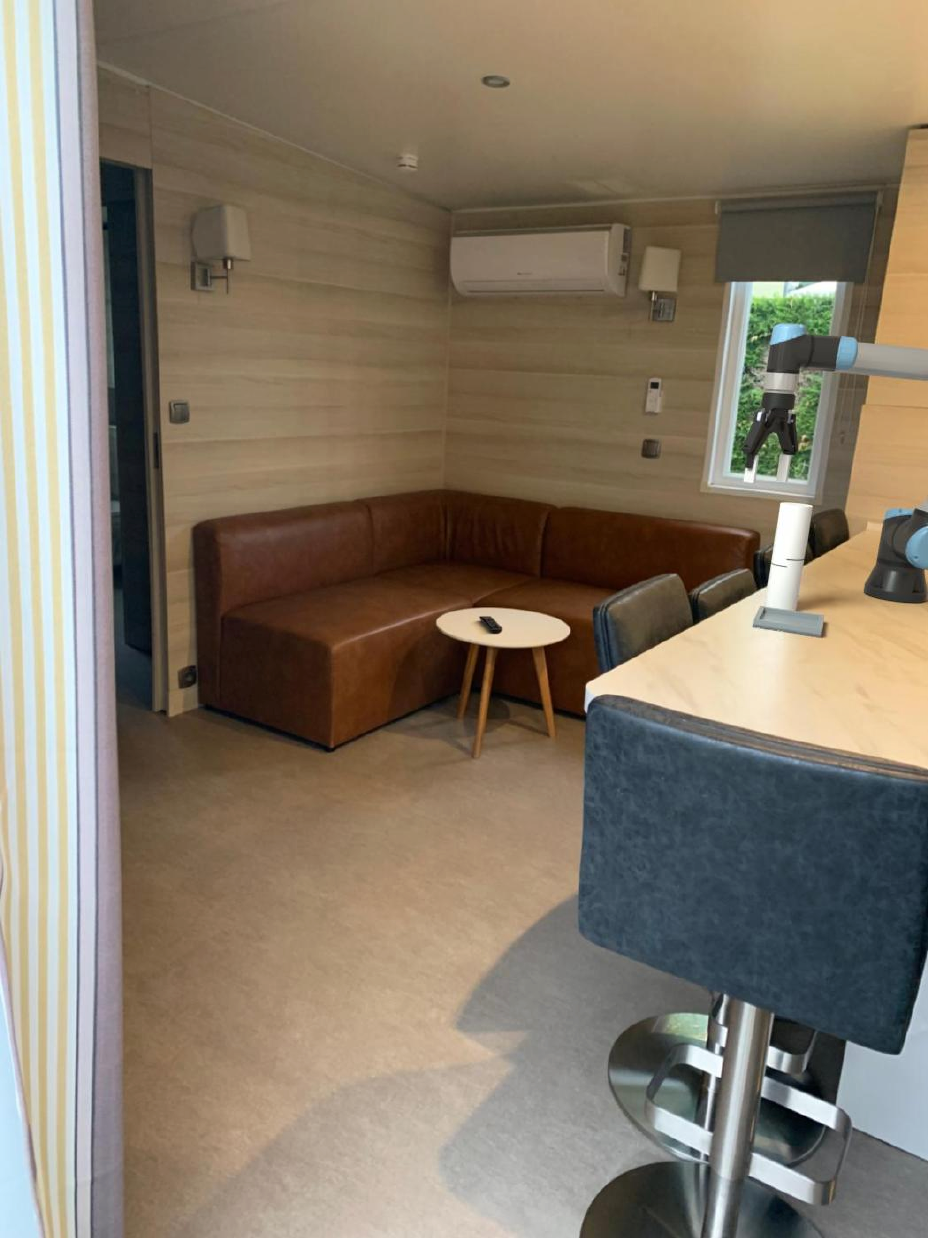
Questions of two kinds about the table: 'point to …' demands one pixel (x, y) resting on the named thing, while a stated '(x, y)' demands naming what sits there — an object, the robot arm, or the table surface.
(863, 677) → the table surface
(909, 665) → the table surface
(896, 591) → the robot arm
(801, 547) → the cylindrical container
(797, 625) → the tray
